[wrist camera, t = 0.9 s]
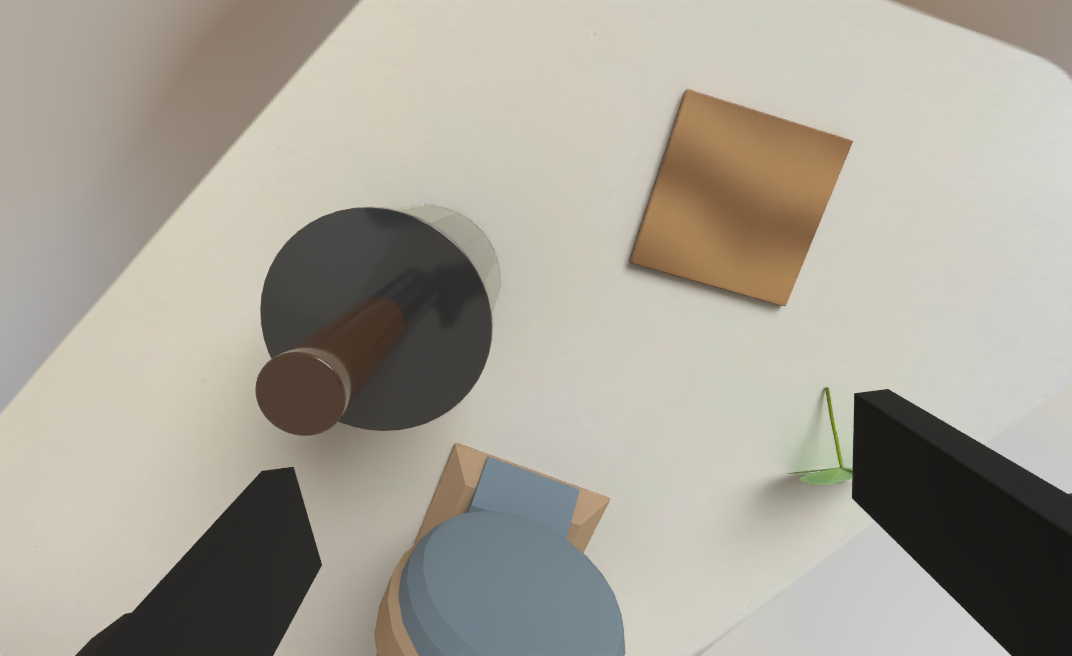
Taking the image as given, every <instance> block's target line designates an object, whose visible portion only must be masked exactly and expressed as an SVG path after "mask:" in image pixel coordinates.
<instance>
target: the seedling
mask: <svg viewBox="0 0 1072 656" xmlns="http://www.w3.org/2000/svg"><path fill="white" fill-rule="evenodd" d="M825 390H826V395H827V401H828V408H829V414H830V420H831V425H832V430H833V434H834V439H835V444H836V450H837V455H838V460H839V464H840V467H839V468H832V469H822V470H812V471H803V472H794V473H788V474H798V473H808V472H816V473H811V474H808V475H804V476H802V477H801V478H799V479H800V480H801V481H802V482H805V483H809V484H816V485H828V484H839V483H843V482H845V481H847V480H850V479H852V474H853V468H845V467H843V463H842V457H841V452H840V447H839V442H838V437H837V432H836V428H835V423H834V418H833V412H832V405H831V398H830V393H829V388H828V387H827V388H825ZM824 470H825V471H824ZM817 471H820V472H817Z"/></svg>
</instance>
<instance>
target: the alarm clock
mask: <svg viewBox="0 0 1072 656" xmlns="http://www.w3.org/2000/svg"><path fill="white" fill-rule="evenodd" d="M609 501H610V499H609V498H607V497H604V496H602V495H599V494H596V493H593V492H590V491H588V490H585V489H582V488H579V487H577V486H574V485H571V484H568V483H566V482H563V481H560V480H557V479H555V478H552V477H549V476H546V475H543V474H541V473H538V472H535V471H532V470H530V469H527V468H524V467H521V466H519V465H516V464H513V463H510V462H508V461H505V460H502V459H499V458H496V457H494V456H491V455H488V454H485V453H483V452H480V451H477V450H474V449H472V448H469V447H466V446H463V445H461V444H458V443H455V446H454V448H453V451H452V453H451V456H450V458H449V461H448V463H447V466H446V468H445V471H444V473H443V475H442V478H441V480H440V483H439V485H438V488H437V490H436V493H435V495H434V498H433V500H432V503H431V505H430V508H429V510H428V512H427V515H426V517H425V520H424V522H423V525H422V527H421V530H420V532H419V535H418V537H417V540H416V542H415V544H414V546H413V547H412V548H411V549H410V550H408V551H407V552H406V553H405V554H404V555H403V557H402V558H401V560H400V562H399V564H398V565H397V567H396V569H395V571H394V573H393V574H392V577H391V579H390V582H389V584H388V587H387V589H386V592H385V594H384V597H383V599H382V602H381V604H380V607H379V613H378V618H377V623H376V629H375V640H376V648H377V656H624V655H625V641H624V628H623V621H622V615H621V612H620V609H619V606H618V603H617V600H616V598H615V595H614V593H613V591H612V589H611V588H610V586H609V584H608V583H607V581H606V579H605V578H604V576H603V575H602V573H601V572H600V571H599V570H598V569H597V568H596V566H595V565H594V564H593V563H592V562H591V561H590V560H589V558H588V557H587V556H586V555H585V554H583V553H584V551H585V549H586V547H587V545H588V543H589V541H590V539H591V537H592V535H593V533H594V531H595V529H596V527H597V525H598V523H599V521H600V519H601V517H602V515H603V513H604V511H605V509H606V507H607V505H608V503H609Z"/></svg>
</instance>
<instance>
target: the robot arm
mask: <svg viewBox="0 0 1072 656" xmlns="http://www.w3.org/2000/svg"><path fill="white" fill-rule="evenodd" d="M852 499H853V500H854V501H855V502H856V503H857V504H858V505H859V506H860V507H861V508H862V509H863V510H864V511H866V512H867V513H868V514H869V515H870V516H871V517H872V518H873V519H874V520H875V521H876V522H877V523H878V524H879V525H880V526H881V527H882V528H883V529H884V530H885V531H886V532H887V533H888V534H889V535H890V536H891V537H892V538H893V539H894V540H895V541H896V542H897V543H898V544H899V545H900V546H901V547H902V548H903V549H904V550H905V551H906V552H907V553H908V554H909V555H910V556H911V557H912V558H913V559H914V560H915V561H916V562H917V563H918V564H919V565H920V566H921V567H922V568H923V569H924V570H925V571H926V572H927V573H928V574H929V575H931V577H932V578H933V579H934V580H935V581H936V582H937V583H939V585H940V586H941V587H942V588H944V589H945V590H946V591H947V592H948V593H949V594H950V595H951V596H952V597H953V598H954V599H955V600H956V601H957V602H958V603H959V604H960V605H961V606H962V607H963V608H964V609H965V610H966V611H967V612H968V613H969V614H970V615H971V616H972V617H973V618H974V619H975V620H976V621H977V622H978V623H979V624H980V625H981V626H982V627H983V628H984V629H985V630H986V631H987V632H988V633H989V634H990V635H991V636H992V637H993V638H994V639H995V640H996V641H997V642H998V643H999V644H1000V645H1001V646H1002V647H1003V648H1004V649H1005V650H1006V651H1007V652H1008V653H1009V654H1010V655H1011V656H1072V493H1071V494H1067V493H1065V492H1063V491H1062V490H1060V489H1058V488H1057V487H1055V486H1053V485H1051V484H1049V483H1048V482H1046V481H1044V480H1043V479H1041V478H1039V477H1038V476H1036V475H1034V474H1033V473H1031V472H1029V471H1027V470H1026V469H1024V468H1022V467H1021V466H1019V465H1017V464H1015V463H1014V462H1012V461H1010V460H1008V459H1007V458H1005V457H1003V456H1002V455H1000V454H998V453H997V452H995V451H993V450H991V449H990V448H988V447H986V446H985V445H983V444H981V443H980V442H978V441H976V440H974V439H973V438H971V437H969V436H968V435H966V434H964V433H962V432H961V431H959V430H957V429H956V428H954V427H952V426H950V425H949V424H947V423H945V422H944V421H942V420H940V419H938V418H937V417H935V416H933V415H932V414H930V413H928V412H926V411H925V410H923V409H921V408H920V407H918V406H916V405H914V404H913V403H911V402H909V401H908V400H906V399H904V398H902V397H901V396H899V395H897V394H896V393H894V392H892V391H891V390H889V389H885V390H877V391H869V392H862V393H854V432H853V474H852ZM321 566H322V563H321V560H320V556H319V553H318V550H317V546H316V543H315V539H314V536H313V532H312V529H311V525H310V522H309V519H308V515H307V512H306V508H305V505H304V501H303V498H302V494H301V491H300V487H299V484H298V481H297V477H296V474H295V470H294V467H288V468H281V469H273V470H265V471H261V472H260V473H259V474H258V476H257V477H256V478H255V479H254V480H253V481H252V482H251V483H250V484H249V485H248V486H247V488H246V489H245V490H244V491H243V492H242V493H241V494H240V495H239V496H238V497H237V498H236V500H235V501H234V502H233V503H232V504H231V505H230V506H229V507H228V508H227V509H226V510H225V512H224V513H223V514H222V515H221V516H220V517H219V518H218V519H217V520H216V521H215V522H214V524H213V525H212V526H211V527H210V528H209V529H208V530H207V531H206V532H205V533H204V534H203V536H202V537H201V538H200V539H199V540H198V541H197V542H196V543H195V544H194V545H193V546H192V548H191V549H190V550H189V551H188V552H187V553H186V554H185V555H184V556H183V557H182V558H181V560H180V561H179V562H178V563H177V564H176V565H175V566H174V567H173V568H172V569H171V570H170V572H169V573H168V574H167V575H166V576H165V577H164V578H163V579H162V580H161V581H160V582H159V584H158V585H157V586H156V587H155V588H154V589H153V590H152V591H151V592H150V593H149V594H148V596H147V597H146V598H145V599H144V600H143V601H142V602H141V603H140V604H139V605H138V606H137V608H136V609H135V610H134V611H133V612H132V613H127V614H124V615H123V616H121V617H120V618H119V619H117V620H116V621H115V622H113V623H112V624H111V625H109V626H108V627H107V628H105V629H104V630H103V631H101V632H100V633H99V634H97V635H96V636H94V637H93V638H92V639H91V640H90V641H89V642H88V643H87V644H86V645H85V646H84V647H83V648H82V649H81V650H80V651H79V652H78V653H77V654H76V655H75V656H273V655H274V653H275V651H276V649H277V648H278V646H279V644H280V642H281V640H282V638H283V636H284V635H285V633H286V631H287V629H288V627H289V625H290V623H291V622H292V620H293V618H294V616H295V614H296V612H297V610H298V609H299V607H300V605H301V603H302V601H303V599H304V597H305V595H306V594H307V592H308V590H309V588H310V586H311V584H312V582H313V581H314V579H315V577H316V575H317V573H318V571H319V569H320V568H321Z"/></svg>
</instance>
